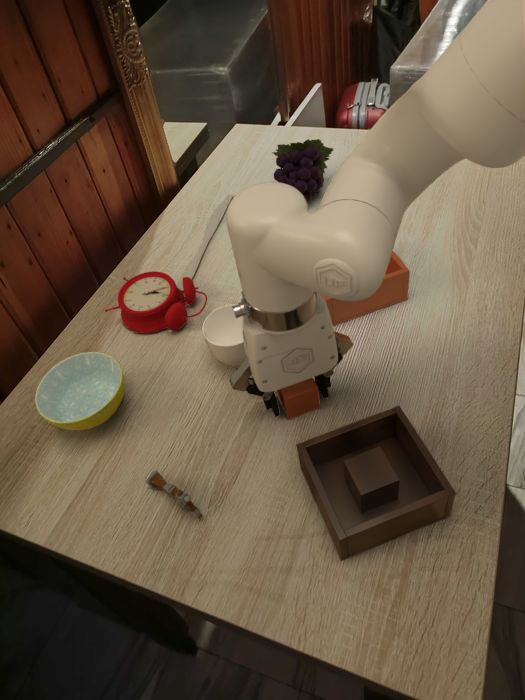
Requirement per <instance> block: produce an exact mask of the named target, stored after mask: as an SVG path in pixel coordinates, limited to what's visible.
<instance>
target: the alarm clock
mask: <svg viewBox="0 0 525 700" xmlns="http://www.w3.org/2000/svg"><path fill="white" fill-rule="evenodd" d="M122 280H123V281H126V282H124V284H123V285H122V287H120V289H119V291H118V294H117V305H118V306H114V307H111V308H108V309H107V308H105V309H104V311H105V313H108V312H109V311H113V310H117V309H118V310H119V309H120V319H121V321H122V323H123V325H124V326H125V327H126V328H127V329H128V330H130V331H132V332H134V333H138V334H151V333H158V332H160V331H163V330H166V329H168V330H170V331H174V332H175V331H178V330H181V329H182V328H183V327H184V326H185V324H186V323H187V320H188V318H193V317H197V316H199V315H200V314H201V313H202V312H203V311H204V309H205V308H206V306H207V303H208V296H207V294H206V293H205V292H203V291H199V287H198V286H195V283H194V281H193V278H192V279H191V278H189V277H183V291H181V290H180V289H179V288H177V287H176V286H177V284H176V281H175V280H174V279H173V278H172V277H171V276H170V275H169V274H168V273H165V272H163V271H153V270H152V271H146V272H142V273H139V274H137V275H135V276H133V277H131V278H130V279H127V277H125V276H124V277H123V279H122ZM197 294H201V295H203V296H204V297H205V301H204V304H203V306H202V308H200V310H199V311H198V312H197V313H195V314H191V315H188V309H187V306H188V305H192V304H194V303H195V302H196V300H197Z"/></svg>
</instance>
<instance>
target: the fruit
mask: <svg viewBox="0 0 525 700" xmlns="http://www.w3.org/2000/svg"><path fill="white" fill-rule="evenodd" d="M276 146H277V148H276V149H275V151H273V152H271V153H272V154H273V155H274V156H275V157H276V159H275V163H276V166H277V167H278V168H276V169H275V170H274V173H273V179H274V180H275V182H279V183H284V184H287V185H290V186H292V187H294V188H296V189H297V190H298V191H300V193H301V194H302V195H303V196H304V198H305V200H306V202H308V201H310V200H312V196H313V195H312V193H318V192H319V191H320V190H322V188H323V187H324V182H325V179H324V174H326V171H325V169H328V165H327V164H326V162H327V161H329V160H330V158H329V157H331V156H330V155H332V152H333V151H334V148H333V147H327V146H325V145H324V142H322V140H321V139H319V138H317V139H311V140H310V139H306V140H305V141H303V142H300V141H297V142H290V143H287V144H284V143H283V144H277V145H276Z"/></svg>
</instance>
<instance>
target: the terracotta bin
mask: <svg viewBox="0 0 525 700" xmlns="http://www.w3.org/2000/svg"><path fill="white" fill-rule="evenodd" d="M410 275H411V270H410V269H409V268H408V266H407V265H406V264H405V263H404V262H403V260H402V259H401V257H399V256H398V254H397V253H396V252H395V251H394V250H393V251H392V254H391V258H390V261H389V264H388V268H387V271H386V274H385V277H384V279H383V281H382V283H381V285H380V287H379V288H378V289H377V291H376V292H375V293H374V294H372V295H371V296H369V297H368V298H365V299H363V300H358V301H343V300H338V299H334V298H330V297H327V296H325V295H322V294H320V295H321V297H322V298H323V299H324V300H325V303H326V305H327V307H328V310H329V314H330V317H331V321H332V325H333V327H334V326H336V325H339V324H342V323H345V322H347V321H351V320H354V319H356V318H359V317H362V316H365V315H368V314H371V313H373V312H376V311H379V310H381V309H384V308H388V307H389V306H392V305H393V306H394V305H395V304H398V303H401V302H404V301H407V300H409V287H410V286H409V285H410Z"/></svg>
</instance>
